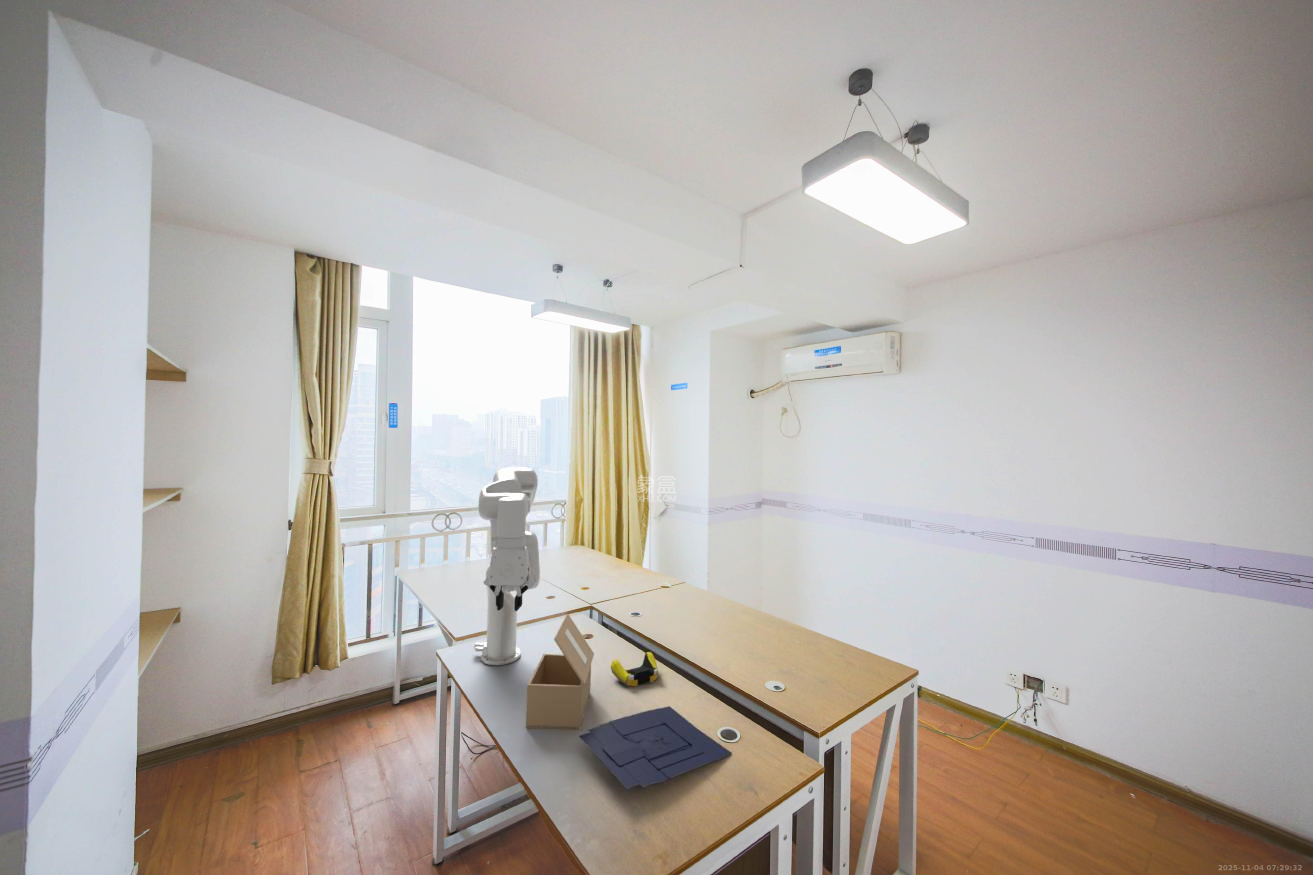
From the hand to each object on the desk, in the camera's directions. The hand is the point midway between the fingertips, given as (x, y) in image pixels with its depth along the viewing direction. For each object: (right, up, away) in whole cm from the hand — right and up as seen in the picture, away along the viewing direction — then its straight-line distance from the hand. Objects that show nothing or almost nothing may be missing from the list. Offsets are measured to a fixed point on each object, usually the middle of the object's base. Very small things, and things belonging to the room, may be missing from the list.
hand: (508, 608), depth 127 cm
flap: (+18, -11, 0) cm, 21 cm away
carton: (+14, -28, 0) cm, 31 cm away
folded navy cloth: (+40, -29, -16) cm, 52 cm away
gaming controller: (+34, -29, +18) cm, 48 cm away
